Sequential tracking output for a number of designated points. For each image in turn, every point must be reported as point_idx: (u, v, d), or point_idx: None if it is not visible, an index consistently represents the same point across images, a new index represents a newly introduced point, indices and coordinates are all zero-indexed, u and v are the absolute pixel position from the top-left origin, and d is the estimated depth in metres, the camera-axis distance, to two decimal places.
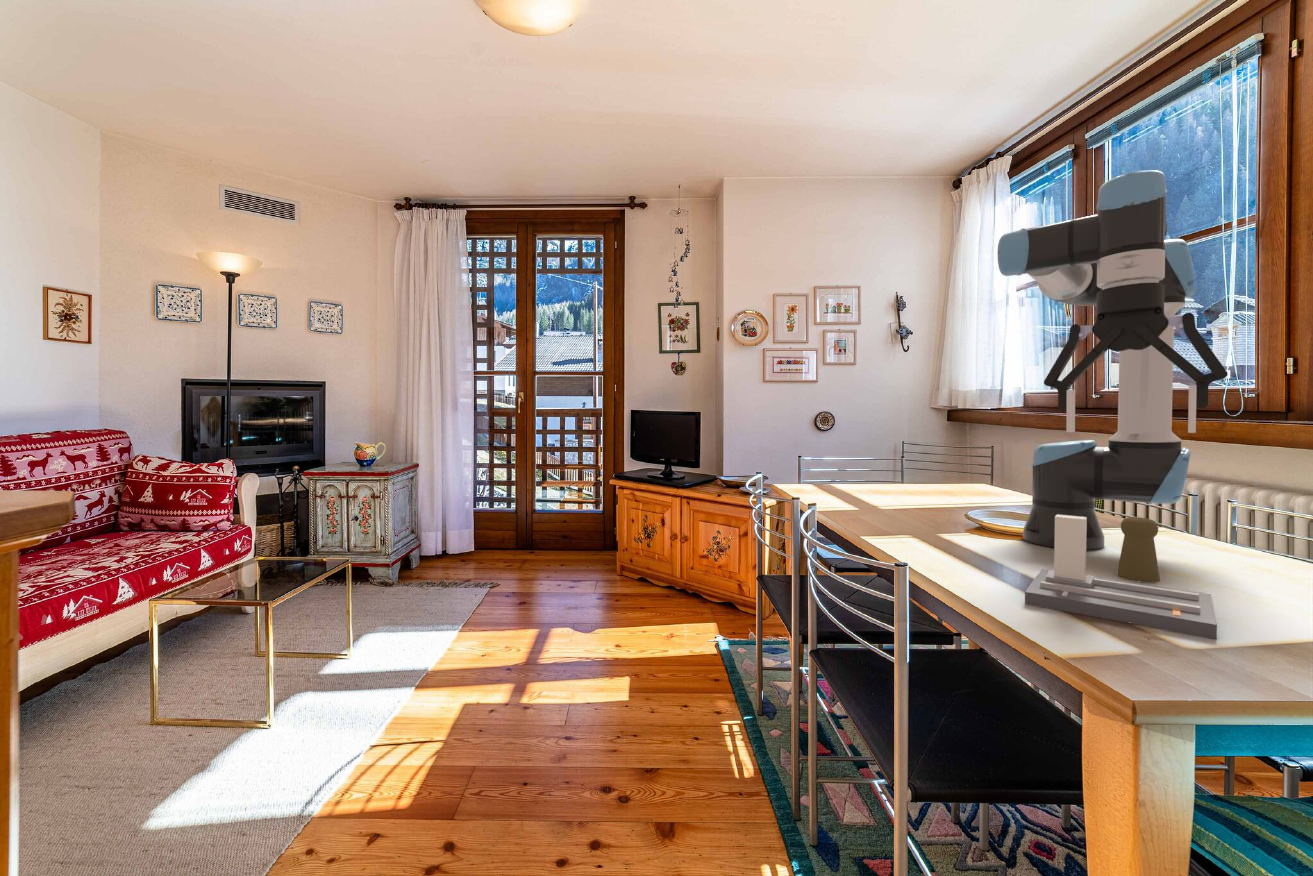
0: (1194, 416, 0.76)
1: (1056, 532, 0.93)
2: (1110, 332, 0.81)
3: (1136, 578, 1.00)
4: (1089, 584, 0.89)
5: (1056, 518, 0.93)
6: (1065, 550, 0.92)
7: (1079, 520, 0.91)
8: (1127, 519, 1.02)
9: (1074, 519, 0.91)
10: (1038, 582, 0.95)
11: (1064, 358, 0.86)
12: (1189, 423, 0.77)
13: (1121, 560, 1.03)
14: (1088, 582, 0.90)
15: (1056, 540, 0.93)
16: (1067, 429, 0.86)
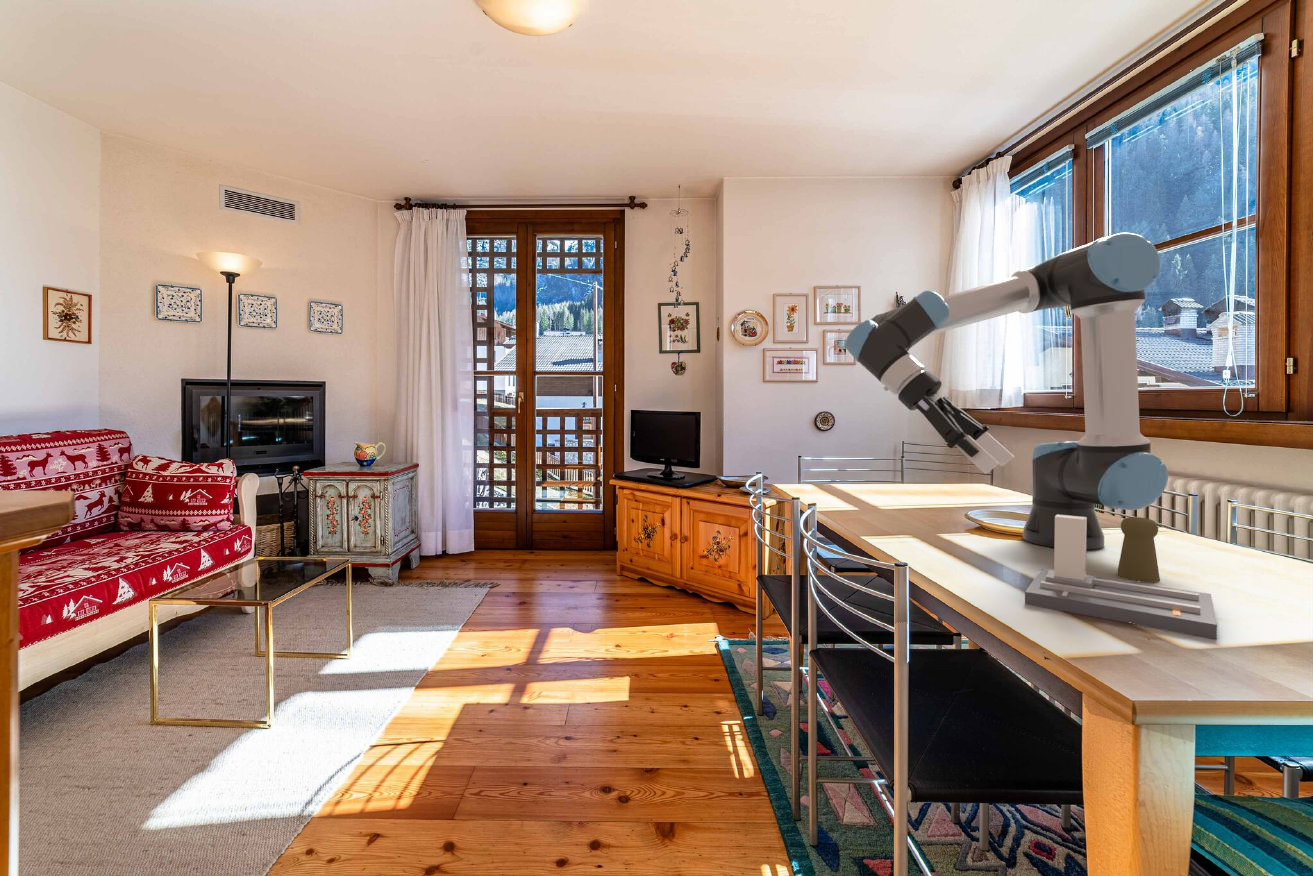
0: (975, 464, 0.95)
1: (1056, 532, 0.93)
2: None
3: (1136, 578, 1.00)
4: (1089, 584, 0.89)
5: (1056, 518, 0.93)
6: (1065, 550, 0.92)
7: (1079, 520, 0.91)
8: (1127, 519, 1.02)
9: (1074, 519, 0.91)
10: (1038, 582, 0.95)
11: None
12: None
13: (1121, 560, 1.03)
14: (1088, 582, 0.90)
15: (1056, 540, 0.93)
16: None
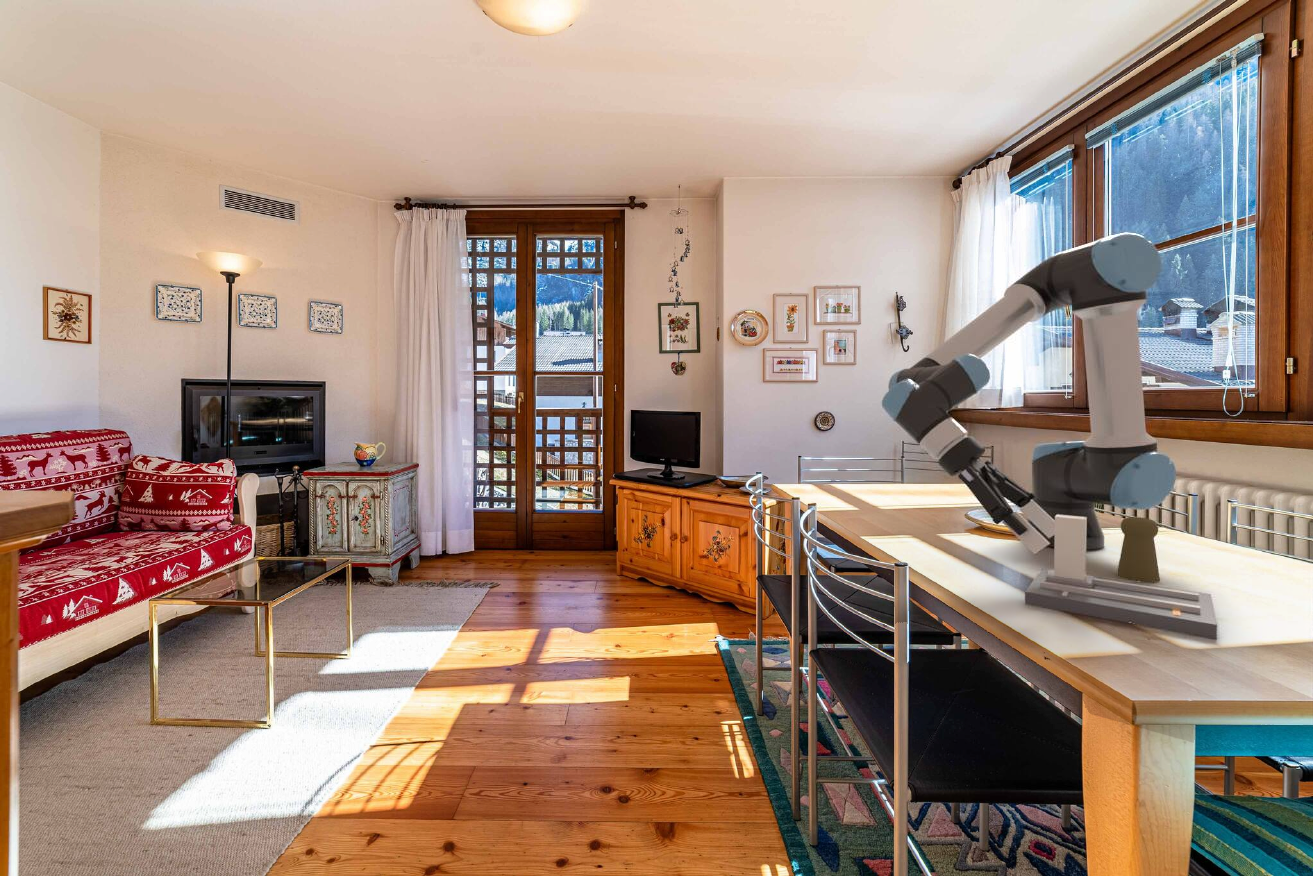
0: (1023, 542, 0.90)
1: (1056, 532, 0.93)
2: None
3: (1136, 578, 1.00)
4: (1089, 584, 0.89)
5: (1056, 518, 0.93)
6: (1065, 550, 0.92)
7: (1079, 520, 0.91)
8: (1127, 519, 1.02)
9: (1074, 519, 0.91)
10: (1038, 582, 0.95)
11: None
12: None
13: (1121, 560, 1.03)
14: (1088, 582, 0.90)
15: (1056, 540, 0.93)
16: None
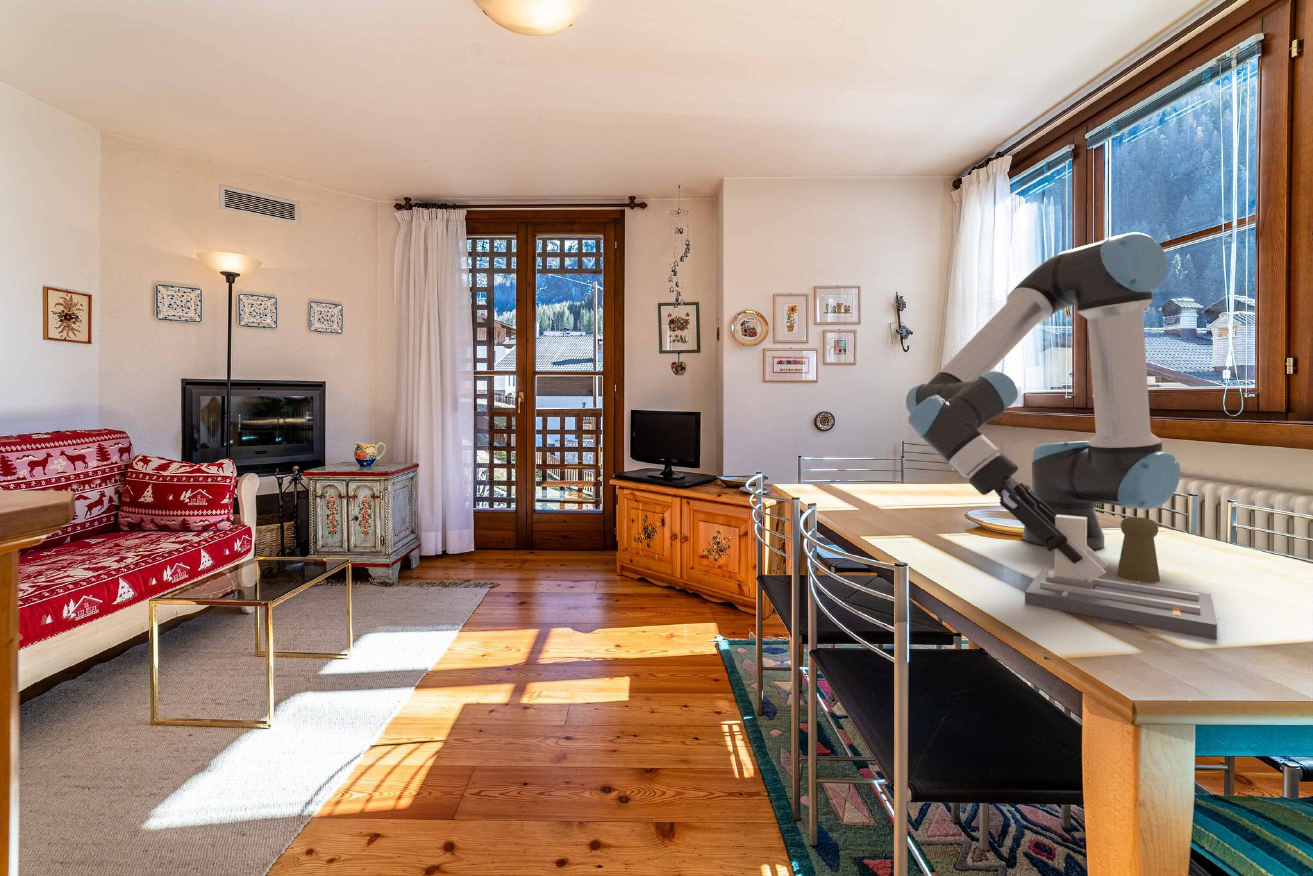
0: (1077, 570, 0.90)
1: None
2: None
3: (1136, 578, 1.00)
4: (1089, 584, 0.89)
5: (1056, 518, 0.93)
6: None
7: (1079, 520, 0.91)
8: (1127, 519, 1.02)
9: (1074, 519, 0.91)
10: (1038, 582, 0.95)
11: None
12: (1083, 574, 0.90)
13: (1121, 560, 1.03)
14: (1088, 582, 0.90)
15: None
16: None
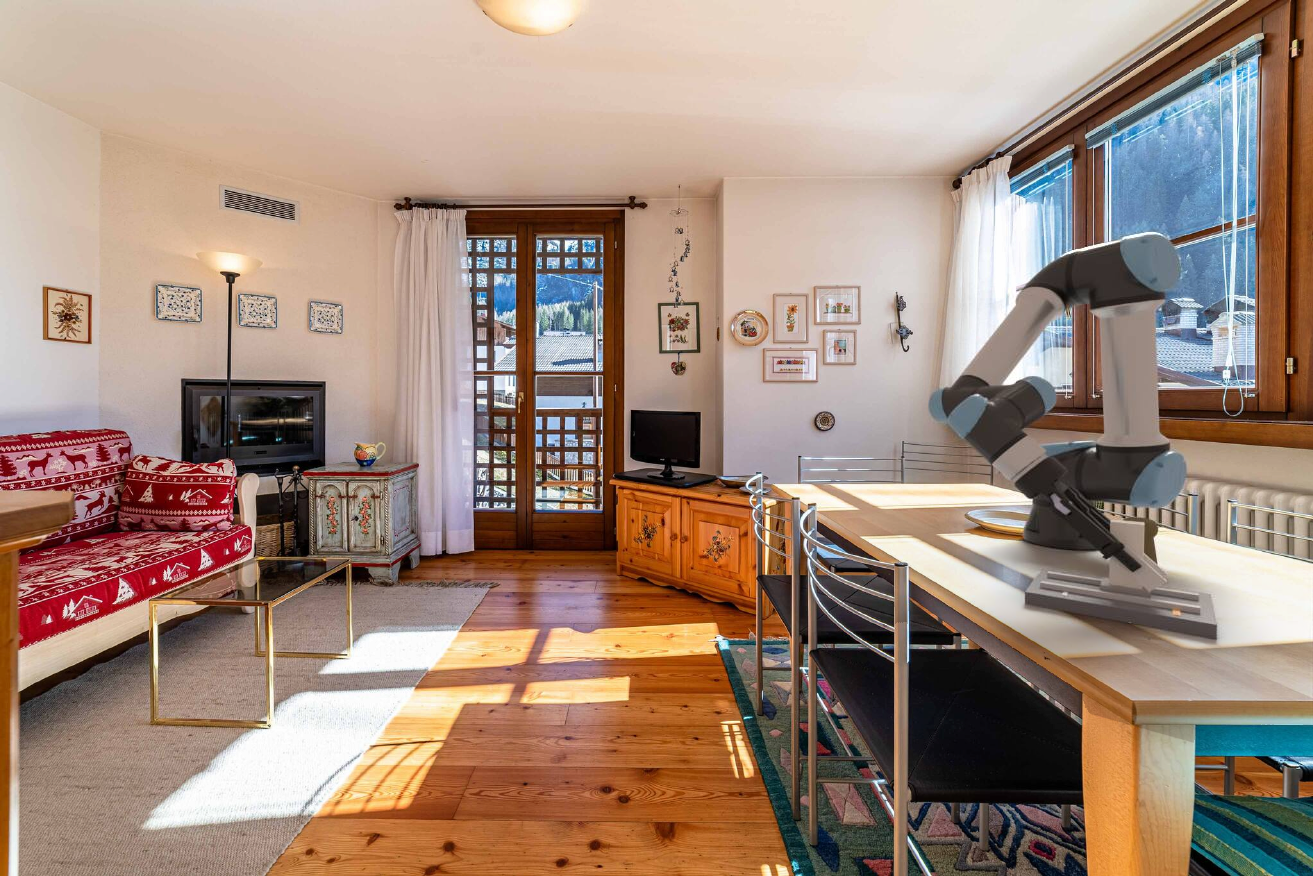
0: None
1: None
2: None
3: None
4: (1149, 593, 0.84)
5: (1111, 523, 0.88)
6: None
7: (1137, 525, 0.86)
8: (1127, 519, 1.02)
9: (1132, 524, 0.86)
10: (1038, 582, 0.95)
11: None
12: None
13: None
14: (1147, 591, 0.85)
15: None
16: None
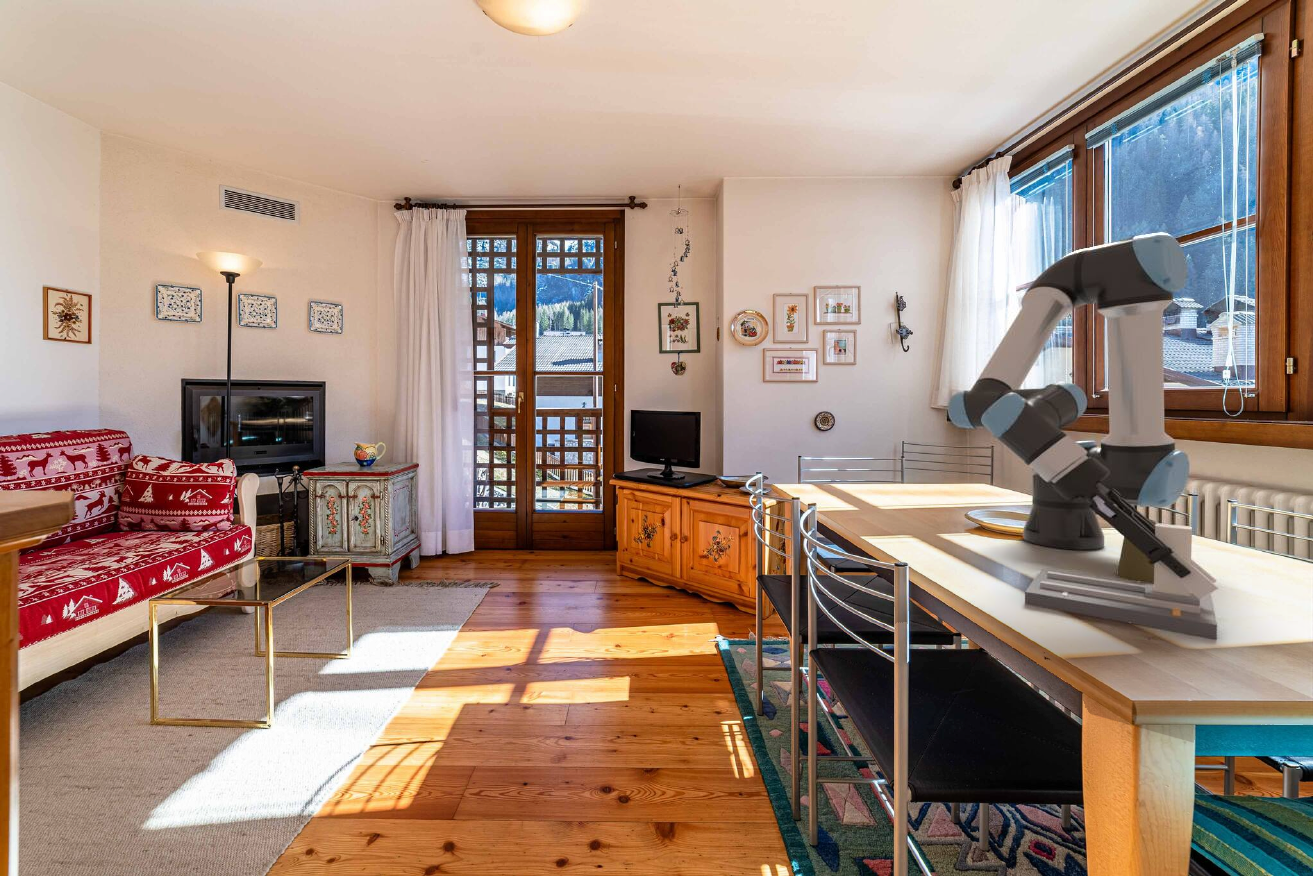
0: (1184, 585, 0.82)
1: None
2: None
3: (1136, 578, 1.00)
4: (1198, 601, 0.81)
5: (1157, 528, 0.84)
6: None
7: (1184, 530, 0.82)
8: None
9: (1179, 529, 0.83)
10: (1038, 582, 0.95)
11: None
12: None
13: (1121, 560, 1.03)
14: (1196, 599, 0.81)
15: None
16: None
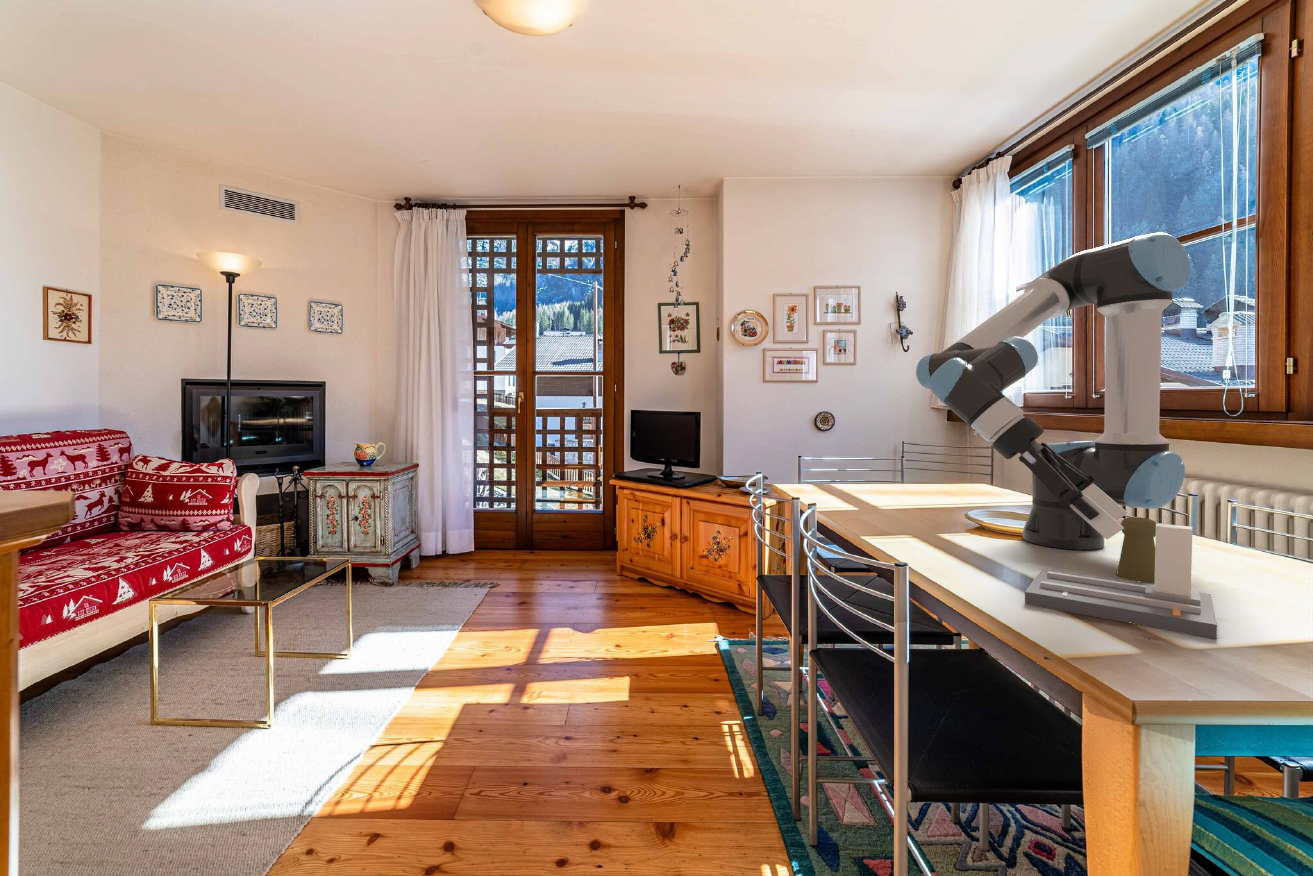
0: (1093, 527, 0.85)
1: (1157, 543, 0.84)
2: None
3: (1136, 578, 1.00)
4: (1198, 601, 0.81)
5: (1157, 528, 0.84)
6: (1168, 563, 0.84)
7: (1185, 530, 0.82)
8: (1127, 519, 1.02)
9: (1179, 529, 0.83)
10: (1038, 582, 0.95)
11: None
12: None
13: (1121, 560, 1.03)
14: (1196, 599, 0.81)
15: (1157, 552, 0.84)
16: None
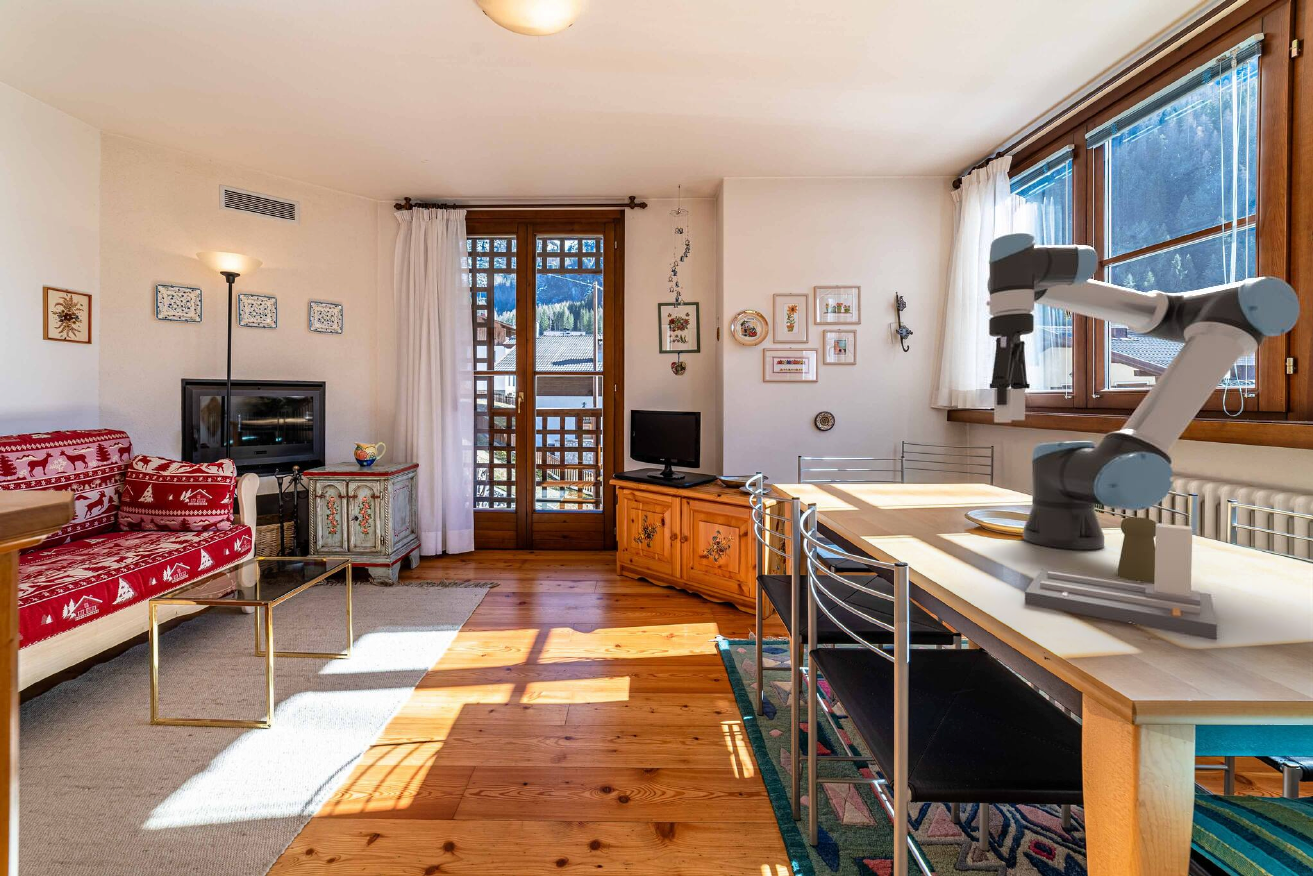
0: (994, 410, 1.09)
1: (1157, 543, 0.84)
2: None
3: (1136, 578, 1.00)
4: (1198, 601, 0.81)
5: (1157, 528, 0.84)
6: (1168, 563, 0.84)
7: (1185, 530, 0.82)
8: (1127, 519, 1.02)
9: (1179, 529, 0.83)
10: (1038, 582, 0.95)
11: None
12: None
13: (1121, 560, 1.03)
14: (1196, 599, 0.81)
15: (1157, 552, 0.84)
16: None
